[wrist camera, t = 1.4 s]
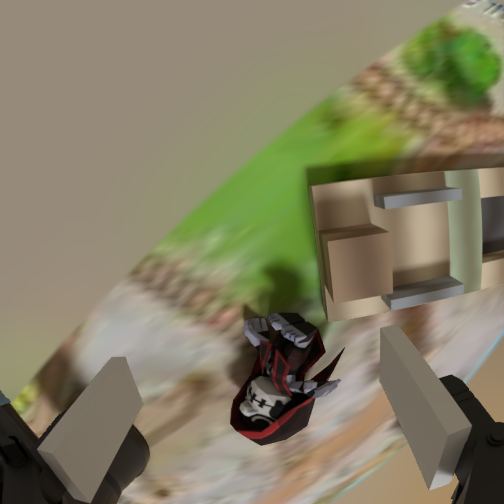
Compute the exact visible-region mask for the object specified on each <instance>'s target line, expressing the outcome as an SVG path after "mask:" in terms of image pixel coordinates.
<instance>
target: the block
mask: <svg viewBox="0 0 504 504" xmlns="http://www.w3.org/2000/svg"><path fill="white" fill-rule="evenodd" d="M318 234H319V241H320V249H321V258H322V266H323V275H324V284H325V286H326V288H327V290H328V292H329V294H330V297H331V299H332V301H333V303H334V304H337V303H342V302H348V301H354V300H360V299H365V298H371V297H376V296H381V295H386V294H392V293H393V275H392V256H391V241H390V232H389V231H386V230H384V229H382V228H380V227H378V226H376V225H374V224H372V223H369V224H362V225H355V226H348V227H342V228H335V229H328V230H322V231H318Z"/></svg>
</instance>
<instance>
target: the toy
mask: <svg viewBox="0 0 504 504" xmlns="http://www.w3.org/2000/svg"><path fill="white" fill-rule="evenodd" d="M268 319H269V321H270V323H271V325H272V326H273V327H274V329H275V330H279V331H278V333H277V334H276V335H275V337H274V339H273V340H272V342H271V343H269V340H270V335H269V330H268V327H267V324H266V321H265V318H261V319H260V323H259V318H252V319H251V320H245V322H244V333H245V336H246V338H247V339H248V340H249V341H250V342H251V343H252V344H253V345H254V346H255V347H256V349H257V350H258V352H259V354H258V357H257V360H256V362H255V365H254V368H253V370H252V373H251V375H250V377H249V378H248V380H247V381H246V383H245V384H244V385H243V387H242V388H241V390H240V391H239V393H238V394H237V395H236V397H235V398H234V400H233V403H232V408H231V418H230V424H231V425H232V426H233V428H234V429H235V430H236V431H237V432H239V433H240V434H242V435H243V436H245V437H247V438H248V439H250V440H252V441H254V442H255V443H257V444H259V445H261V446H262V445H267V444H271V443H275V442H278V441H282V440H286V439H288V438H289V437H291V436H292V435H294V434H296V433H297V432H299V431H300V430H302V429H303V428H305V427H306V426H307V425H308V422H309V418H310V415H311V412H312V408H313V405H314V402H315V398H320V397H323V396H326V395H327V394H329V393H330V392H332V391H333V390H335V388H336V387H337V385H338V383H339V382H340V381H341V380H340V379H338V380H335V381H328V380H329V378H330V376H331V374H332V372H333V370H334V368H335V366H336V364H337V363H338V361H339V359H340V357H341V355H342V353H343V351H344V349H345V347H344V349H343V350H342V351H341V352H340V353H339V354H338V355H337V357H336V358H335V359H334V360H333V361H332V362H331V363H330V364H329V365H328V366H327V367H326V368H325V369H323V370H322V371H321V372H320V373H318V374H317V375H316V376H314V377H313V378H312V379H311V380H308V381H304V375H305V373H306V372H307V371H308V370H309V369H310V368H311V367H312V366H313V365H314V364H315V363H316V362H317V361H318V360H319V359H320V358H321V357H322V356H323V354H324V353H325V352H326V351H325V348H324V345H323V342H322V339H321V336H320V333H319V330H317V327H315V326H314V325H312V324H311V323H309V322H305V320H304V318H303V317H301V316H300V315H299V314H298V313H273V314H269V315H268ZM281 329H282V330H281ZM313 336H314V337H313ZM312 338H313V339H312ZM311 339H312V342H311V344H309V343H310V341H311Z"/></svg>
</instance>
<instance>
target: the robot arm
mask: <svg viewBox="0 0 504 504" xmlns="http://www.w3.org/2000/svg"><path fill="white" fill-rule="evenodd" d="M379 381H380V383H381V385H382V387H383V389H384V391H385V393H386V395H387V397H388V399H389V401H390V404H391V406H392V408H393V410H394V412H395V414H396V416H397V419H398V421H399V423H400V425H401V427H402V430H403V432H404V434H405V436H406V439H407V441H408V443H409V445H410V447H411V450H412V452H413V454H414V457H415V458H416V461H417V464H418V466H419V468H420V470H421V473H422V475H423V478H424V480H425V483H426V485H427V487H428V490H432V489H435V488H438V487H441V486H443V485H446V484H448V483H450V482H451V480H452V478H453V475H454V473H455V474H456V476H457V478H458V480H459V483H458V485H457V487H456V489H455V491H454V493H453V495H452V497H451V499H453V501H452V504H504V423H502V422H495V421H494V420H493V419H492V418H491V416H490V415H489V414H488V412H487V411H486V410H485V408H484V407H483V406H482V405H481V403H480V402H479V401H478V399H476V398H475V397H474V395H473V393H472V392H471V391H469V388H468V387H467V386H466V385H465V383H464V382H463V381H462V380H460V379H459V378H457V377H455V376H453V375H448V376H445V377H442V378H438V377H437V376H436V374H435V373H434V372H433V370H432V369H431V368H430V366H429V365H428V364H427V362H426V361H425V360H424V358H423V357H422V356H421V354H420V353H419V352H418V351H417V349H416V348H415V347H414V345H413V344H412V343H411V342H410V340H409V339H408V338H407V336H406V335H405V334H404V333H403V331H402V330H401V329H400V328H399V326H398V325H392V326H387V327H383V328H380V380H379ZM10 402H11V401H10V400H9V399H8V398H6V397H5V396H4V394H3V393H2V392H1V391H0V504H117V502H118V499H119V497H120V495H121V493H122V491H123V490H124V489H125V488H126V487H127V486H128V485H129V484H130V483H131V482H132V481H133V480H134V479H135V478H136V477H138V476H139V475H140V474H142V473H143V471H144V470H145V468H146V466H147V463H148V461H149V457H150V452H149V448H148V446H147V443H146V442H145V440H144V438H143V437H142V436H141V434H140V433H139V432H138V431H137V430H136V429H135V428H134V427H133V426H132V424H133V422H134V420H135V418H136V416H137V414H138V413H139V411H140V409H141V407H142V405H143V401H142V399H141V397H140V394H139V392H138V389H137V387H136V384H135V382H134V379H133V376H132V374H131V371H130V368H129V366H128V363H127V360H126V358H125V357H111V359H110V360H109V361H108V362H107V363H106V365H105V366H104V367H103V368H102V369H101V370H100V372H99V373H98V374H97V375H96V376H95V378H94V379H93V380H92V381H91V383H90V384H89V385H88V386H87V387H86V389H85V390H84V391H83V392H82V393H81V395H80V396H79V397H78V398H77V400H76V401H75V402H74V403H73V404H72V405H71V406H69V407H68V408H67V410H66V411H64V412H63V413H61V414H60V415H58V416H57V417H56V418H55V420H54V421H53V422H52V423H51V425H50V426H49V427H48V428H47V430H46V431H45V432H44V433H43V434H42V436H41V437H40V438H38V437H37V435H36V434H35V433H34V432H33V431H32V430H31V429H30V427H29V426H28V425H27V424H26V423H25V422H24V420H23V419H22V418H21V417H20V415H19V414H18V413H17V412H16V410H15V409H14V408H13V406H12V405H11V404H10Z"/></svg>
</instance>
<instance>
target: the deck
mask: <svg viewBox="0 0 504 504" xmlns="http://www.w3.org/2000/svg"><path fill="white" fill-rule="evenodd" d="M308 189H309V196H310V203H311V209H312V216H313V223H314V231H315V238H316V246H317V254H318V262H319V270H320V279H321V288H322V298H323V307H324V312H325V315H326V318H327V321H328V323H329V322H335V321H340V320H346V319H352V318H357V317H363V316H368V315H373V314H378V313H383V312H388V311H393V310H398V309H402V308H407V307H412V306H416V305H421V304H425V303H429V302H434V301H438V300H442V299H446V298H450V297H454V296H458V295H462V294H466V293H470V292H474V291H477V290H481V289H485V288H488V287H492V286H496V285H499V284H502V283H504V167H487V168H471V169H457V170H444V171H432V172H420V173H410V174H400V175H390V176H381V177H372V178H363V179H355V180H347V181H339V182H331V183H324V184H317V185H309V186H308ZM369 223H372V224H374V225H376V226H378V227H380V228H382V229H384V230H386V231H389V232H390V241H391V256H392V275H393V293H392V294H386V295H381V296H376V297H371V298H365V299H360V300H354V301H348V302H342V303H337V304H334V303H333V301H332V299H331V297H330V294H329V292H328V290H327V288H326V286H325V284H324V275H323V266H322V258H321V249H320V241H319V234H318V231H322V230H328V229H335V228H342V227H348V226H355V225H362V224H369Z"/></svg>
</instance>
